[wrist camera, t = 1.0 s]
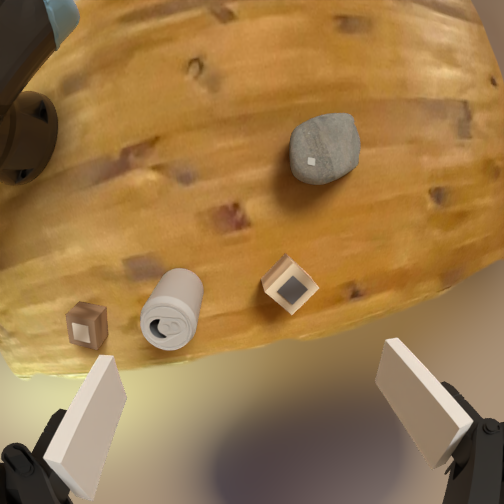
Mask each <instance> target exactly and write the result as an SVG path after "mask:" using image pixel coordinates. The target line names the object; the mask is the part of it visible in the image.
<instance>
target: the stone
mask: <svg viewBox="0 0 504 504" xmlns="http://www.w3.org/2000/svg"><path fill="white" fill-rule="evenodd" d="M359 153H360V138H359V134H358V132H357V129H356V126H355V125H354V118H353V117H352V116H351V115H350V114H347V113H331V114H325V115H321V116H317V117H314V118H312V119H309V120H308V121H306V122H304V123H302V124H300V125H299V126H297V127H296V128H295V129H294V130H293V132H292V134H291V138H290V146H289V157H290V167H291V171H292V173H293V175H294V176H295V177H296V178H297V179H298V180H300V181H302V182H304V183H308V184H313V185H322V184H326V183H329V182H332V181H334V180H336V179H338V178H340V177H342V176H344V175H345V174H347V173H348V172H350V171H351V170H353V169H354V168H355V167H356V166H357V165H358V160H359Z"/></svg>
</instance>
